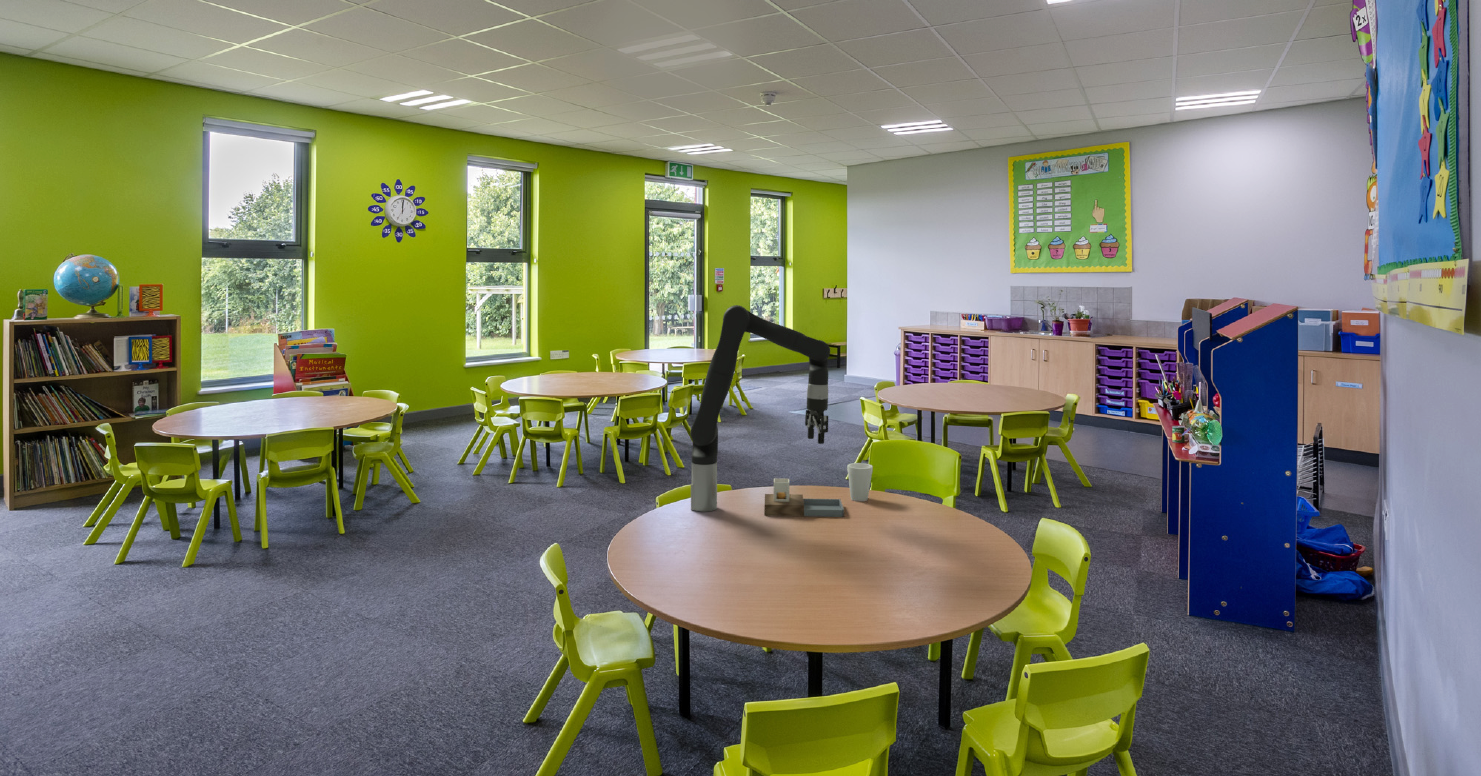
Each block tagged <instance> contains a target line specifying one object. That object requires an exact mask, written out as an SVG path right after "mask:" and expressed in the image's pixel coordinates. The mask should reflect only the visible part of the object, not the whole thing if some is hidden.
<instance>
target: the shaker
mask: <svg viewBox="0 0 1481 776" xmlns="http://www.w3.org/2000/svg"><path fill="white" fill-rule="evenodd" d="M778 492H784V493H785V498H786V499H776V498H778V497H777V494H778ZM773 494H774V501H779V502H789V494H790V478H773Z"/></svg>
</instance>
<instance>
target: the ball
mask: <svg viewBox="0 0 1481 776" xmlns="http://www.w3.org/2000/svg"><path fill="white" fill-rule="evenodd" d="M777 497H778V498H779V499H784V498H785V493H784V492H778V494H777Z"/></svg>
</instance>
